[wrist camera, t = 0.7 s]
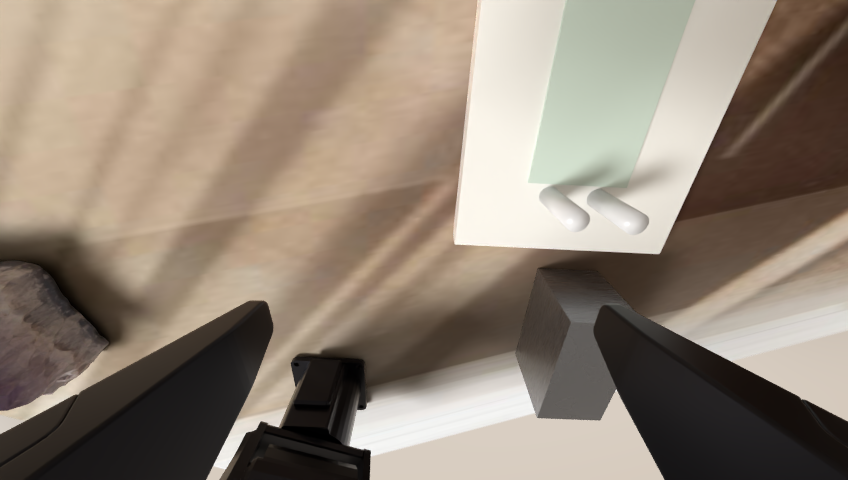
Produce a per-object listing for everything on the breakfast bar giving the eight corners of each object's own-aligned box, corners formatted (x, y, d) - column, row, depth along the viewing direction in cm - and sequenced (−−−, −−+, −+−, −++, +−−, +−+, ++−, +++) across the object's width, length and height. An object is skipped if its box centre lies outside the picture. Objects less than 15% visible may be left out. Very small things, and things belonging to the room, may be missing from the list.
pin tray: (645, 243, 22) (708, 289, 17) (452, 234, 22) (460, 277, 17) (824, -171, 13) (1068, -329, 8) (498, -195, 13) (543, -374, 8)
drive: (565, 354, 27) (600, 420, 22) (515, 352, 27) (537, 417, 22) (596, 270, 23) (648, 325, 18) (537, 267, 23) (570, 322, 18)
